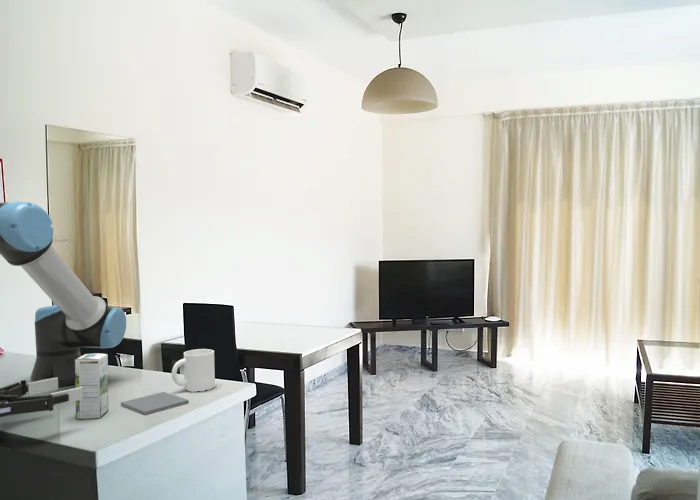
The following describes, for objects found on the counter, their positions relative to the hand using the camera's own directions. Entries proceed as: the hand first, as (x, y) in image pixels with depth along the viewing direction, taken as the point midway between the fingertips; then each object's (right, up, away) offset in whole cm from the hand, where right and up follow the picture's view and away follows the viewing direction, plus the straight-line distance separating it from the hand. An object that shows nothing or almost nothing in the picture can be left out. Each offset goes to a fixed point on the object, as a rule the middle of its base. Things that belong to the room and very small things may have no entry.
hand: (69, 387), depth 131 cm
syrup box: (+4, -8, +4) cm, 10 cm away
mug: (+22, -7, +25) cm, 34 cm away
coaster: (+16, -7, +12) cm, 21 cm away
